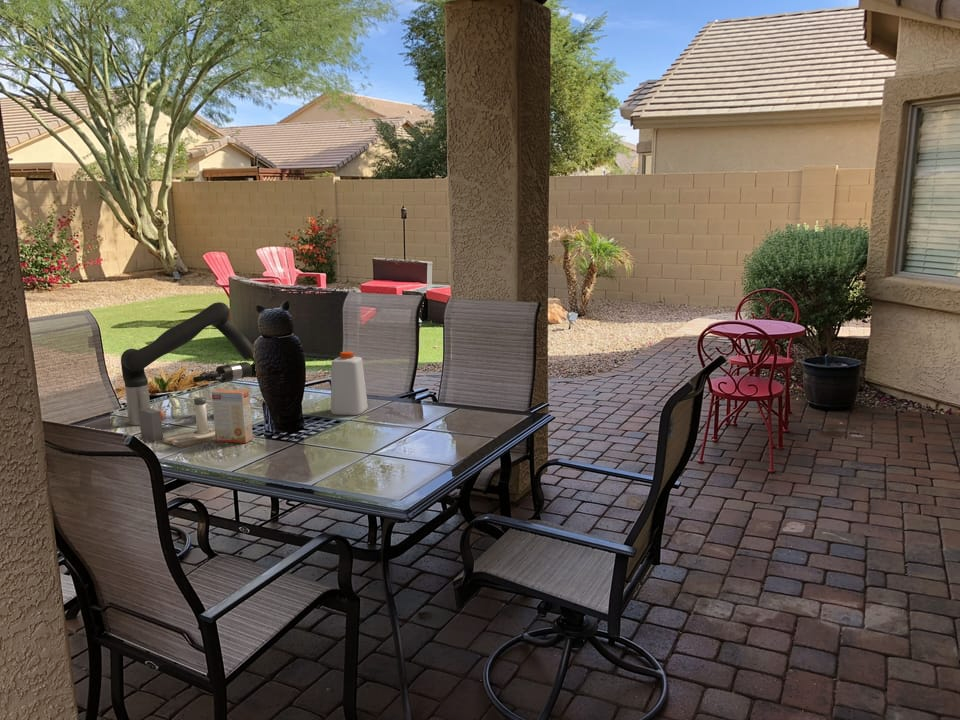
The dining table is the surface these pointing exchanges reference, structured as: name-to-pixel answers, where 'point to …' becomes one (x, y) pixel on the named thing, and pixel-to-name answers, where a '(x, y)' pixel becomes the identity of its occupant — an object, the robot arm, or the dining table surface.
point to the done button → (162, 415)
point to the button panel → (150, 424)
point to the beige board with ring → (190, 438)
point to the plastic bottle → (348, 385)
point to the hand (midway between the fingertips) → (194, 379)
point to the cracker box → (232, 416)
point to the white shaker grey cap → (201, 414)
